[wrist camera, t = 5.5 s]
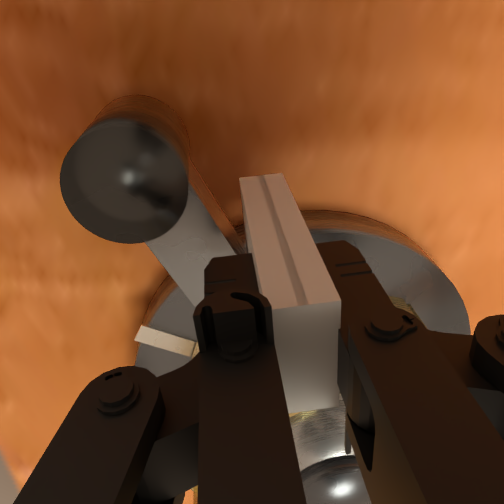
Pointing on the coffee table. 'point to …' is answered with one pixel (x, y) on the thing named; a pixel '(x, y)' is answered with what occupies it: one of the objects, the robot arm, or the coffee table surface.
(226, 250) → the ball lever
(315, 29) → the coffee table surface
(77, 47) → the coffee table surface
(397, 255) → the housing
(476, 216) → the coffee table surface
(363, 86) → the coffee table surface
